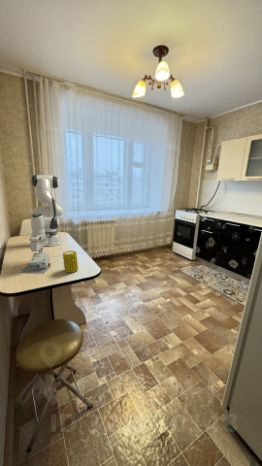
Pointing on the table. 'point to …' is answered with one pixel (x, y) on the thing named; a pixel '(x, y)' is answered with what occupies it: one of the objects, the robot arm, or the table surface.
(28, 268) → the mat
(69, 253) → the food
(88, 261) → the table surface
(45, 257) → the light bulb box
